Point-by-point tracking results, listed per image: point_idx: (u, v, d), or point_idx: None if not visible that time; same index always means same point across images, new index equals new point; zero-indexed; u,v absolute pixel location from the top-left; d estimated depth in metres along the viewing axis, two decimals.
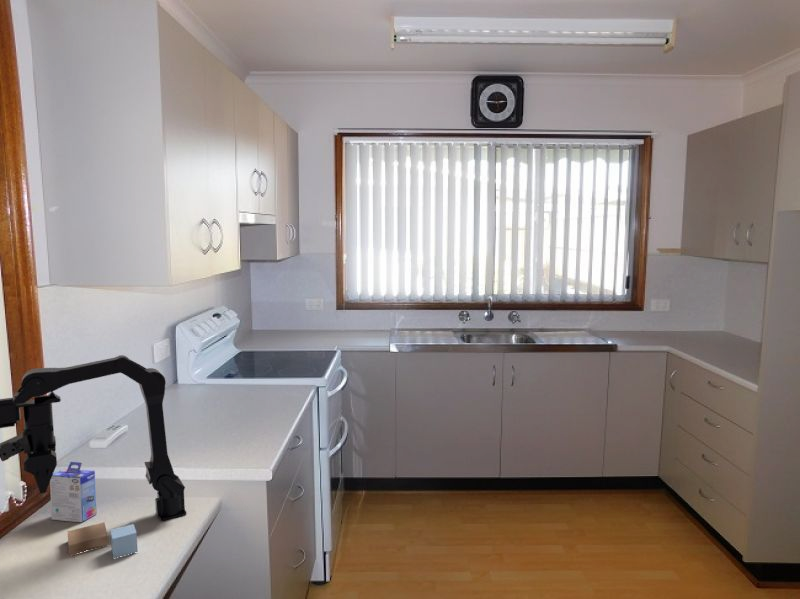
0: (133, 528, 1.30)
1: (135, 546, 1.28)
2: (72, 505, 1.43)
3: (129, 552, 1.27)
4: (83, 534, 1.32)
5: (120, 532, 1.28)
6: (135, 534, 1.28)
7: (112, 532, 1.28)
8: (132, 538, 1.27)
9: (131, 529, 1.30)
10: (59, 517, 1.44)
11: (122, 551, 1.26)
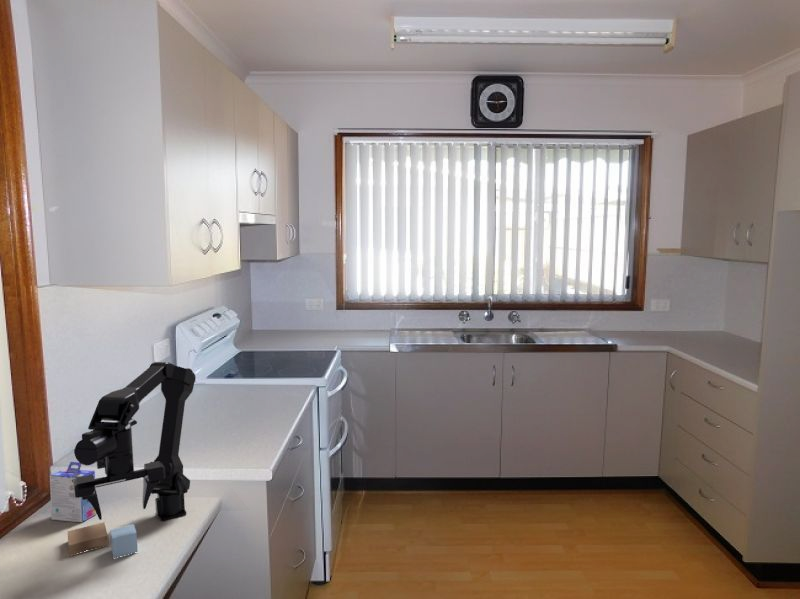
0: (133, 528, 1.30)
1: (135, 546, 1.28)
2: (72, 505, 1.43)
3: (129, 552, 1.27)
4: (83, 534, 1.32)
5: (120, 532, 1.28)
6: (135, 534, 1.28)
7: (112, 532, 1.28)
8: (132, 538, 1.27)
9: (131, 529, 1.30)
10: (59, 517, 1.44)
11: (122, 551, 1.26)
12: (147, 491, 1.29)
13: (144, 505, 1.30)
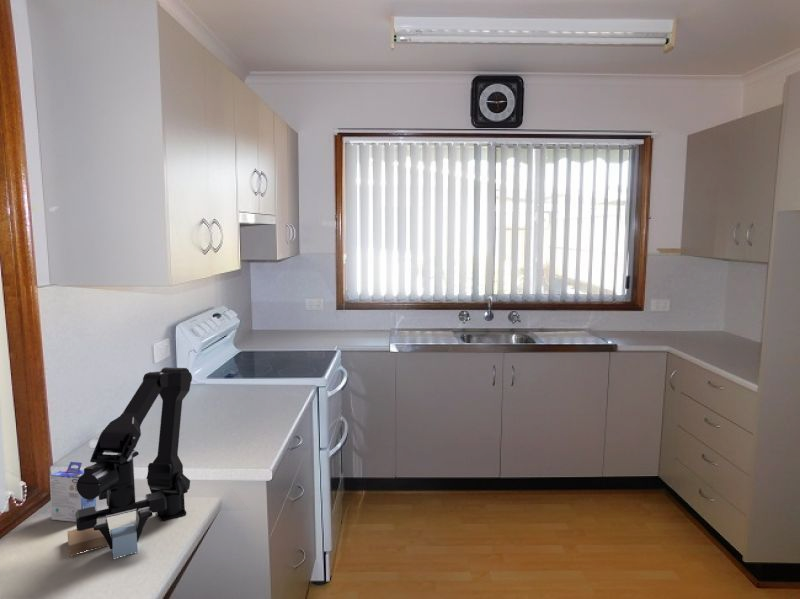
0: (133, 528, 1.30)
1: (135, 546, 1.28)
2: (72, 505, 1.43)
3: (129, 552, 1.27)
4: (83, 534, 1.32)
5: (120, 531, 1.28)
6: (135, 534, 1.28)
7: (112, 531, 1.28)
8: (132, 538, 1.27)
9: (131, 528, 1.30)
10: (59, 517, 1.44)
11: (122, 551, 1.26)
12: (139, 525, 1.28)
13: None
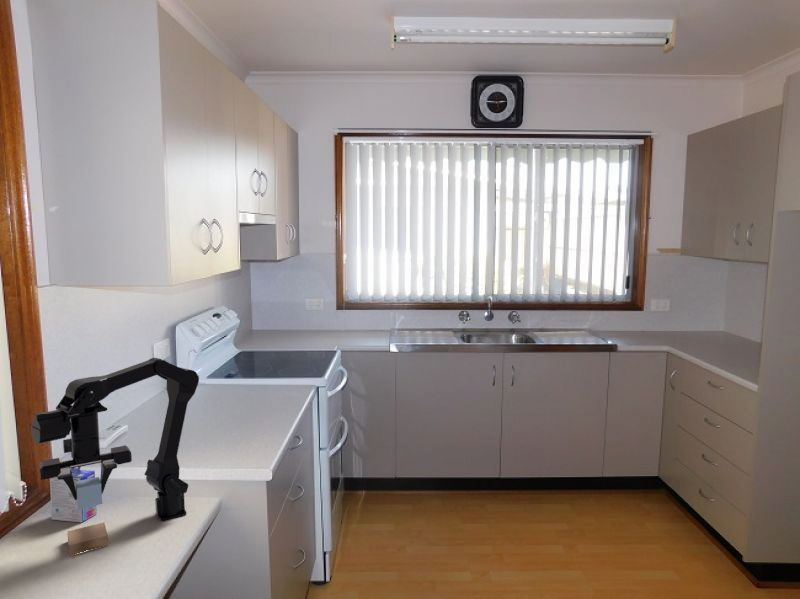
0: (98, 480, 1.32)
1: (99, 497, 1.30)
2: (72, 505, 1.43)
3: (93, 502, 1.30)
4: (83, 534, 1.32)
5: (85, 483, 1.30)
6: (100, 485, 1.30)
7: (77, 483, 1.30)
8: (96, 489, 1.30)
9: (95, 480, 1.32)
10: (59, 517, 1.44)
11: (86, 501, 1.29)
12: (104, 476, 1.31)
13: None
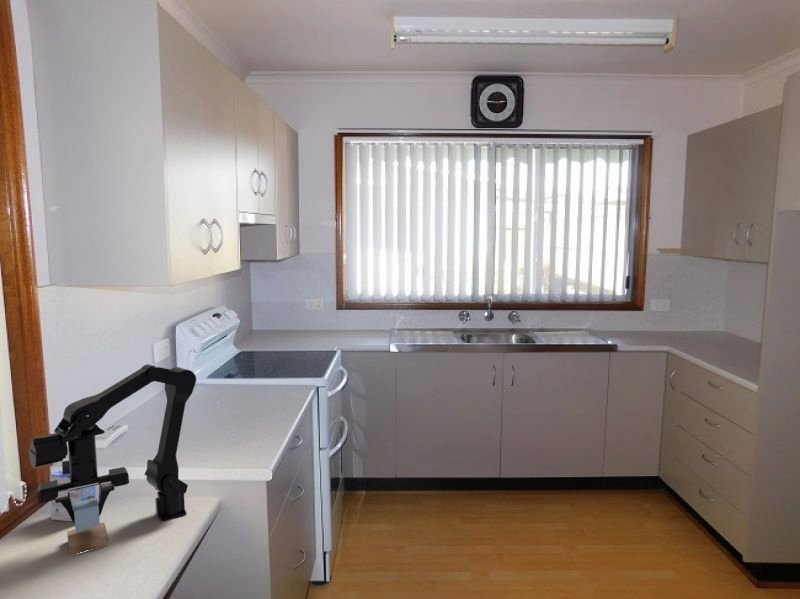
0: (96, 501, 1.33)
1: (97, 519, 1.31)
2: (72, 505, 1.43)
3: (91, 524, 1.31)
4: (83, 534, 1.32)
5: (83, 505, 1.32)
6: (97, 507, 1.31)
7: (75, 505, 1.32)
8: (94, 511, 1.31)
9: (93, 502, 1.33)
10: (59, 517, 1.44)
11: (84, 523, 1.30)
12: (101, 498, 1.32)
13: (99, 512, 1.33)
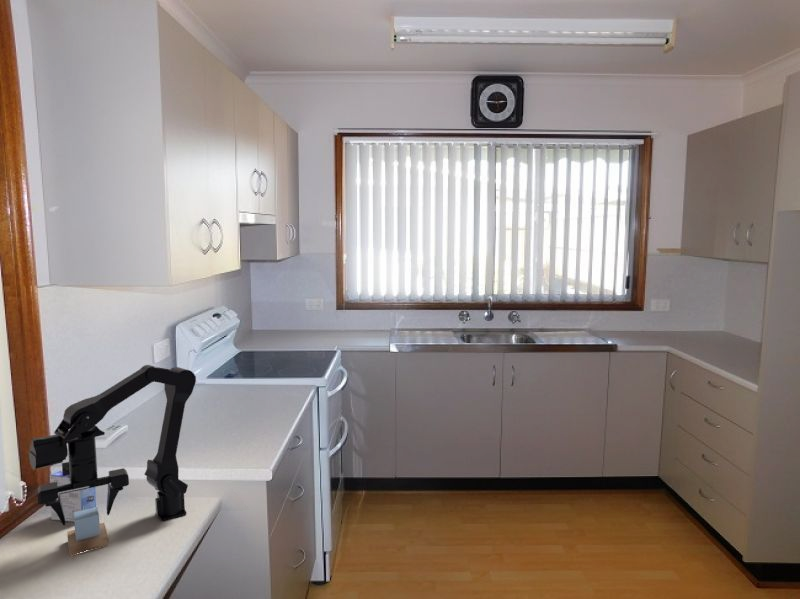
0: (96, 511, 1.33)
1: (97, 528, 1.31)
2: (72, 505, 1.43)
3: (91, 534, 1.31)
4: None
5: (83, 514, 1.32)
6: (97, 516, 1.31)
7: (75, 514, 1.32)
8: (94, 520, 1.31)
9: (94, 511, 1.33)
10: None
11: (84, 533, 1.30)
12: (110, 498, 1.33)
13: (108, 511, 1.34)
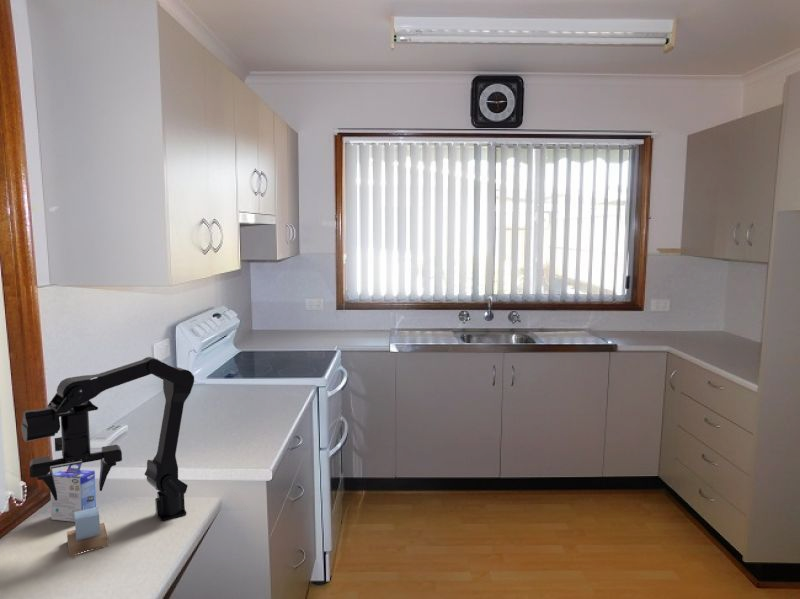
0: (96, 510, 1.34)
1: (98, 528, 1.32)
2: (72, 505, 1.43)
3: (92, 533, 1.31)
4: None
5: (83, 514, 1.32)
6: (97, 516, 1.31)
7: (76, 514, 1.32)
8: (94, 520, 1.31)
9: (94, 511, 1.33)
10: (59, 517, 1.44)
11: (84, 533, 1.30)
12: (103, 473, 1.32)
13: (100, 487, 1.33)
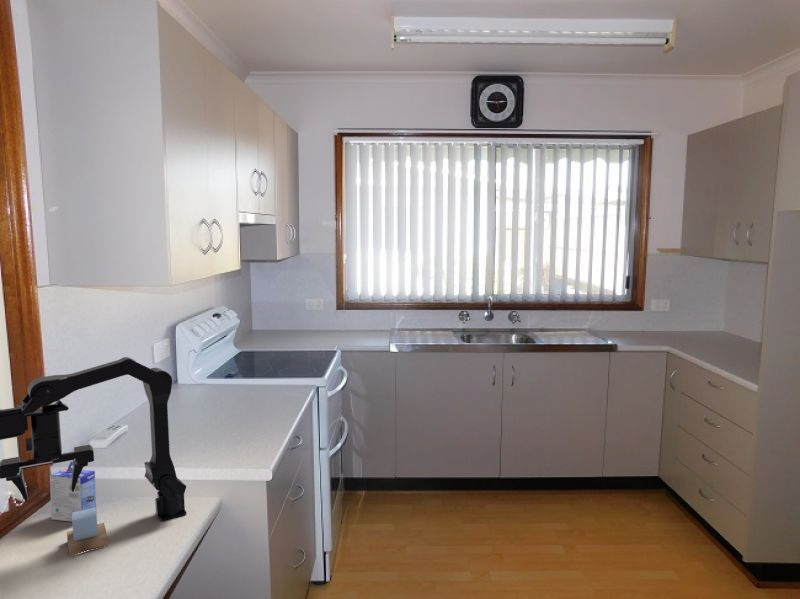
0: (94, 511, 1.33)
1: (95, 528, 1.31)
2: (72, 505, 1.43)
3: (89, 534, 1.30)
4: None
5: (81, 514, 1.32)
6: (95, 517, 1.31)
7: (74, 514, 1.32)
8: (92, 521, 1.31)
9: (92, 511, 1.33)
10: (59, 517, 1.44)
11: (82, 533, 1.30)
12: (75, 474, 1.30)
13: (72, 488, 1.31)
